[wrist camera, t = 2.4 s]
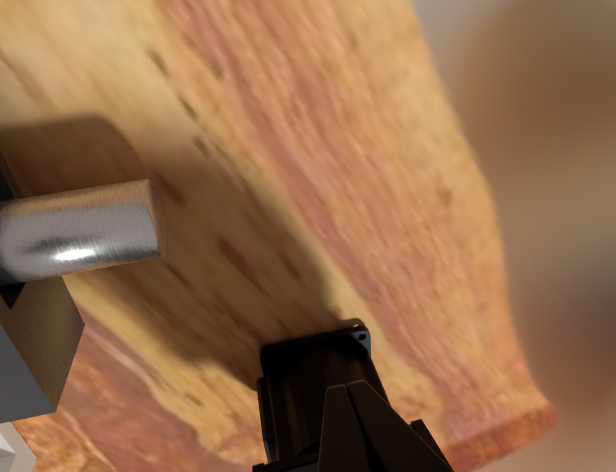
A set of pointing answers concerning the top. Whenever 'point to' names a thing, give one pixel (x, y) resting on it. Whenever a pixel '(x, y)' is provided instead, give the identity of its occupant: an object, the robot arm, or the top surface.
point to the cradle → (14, 451)
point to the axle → (81, 231)
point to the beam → (34, 337)
